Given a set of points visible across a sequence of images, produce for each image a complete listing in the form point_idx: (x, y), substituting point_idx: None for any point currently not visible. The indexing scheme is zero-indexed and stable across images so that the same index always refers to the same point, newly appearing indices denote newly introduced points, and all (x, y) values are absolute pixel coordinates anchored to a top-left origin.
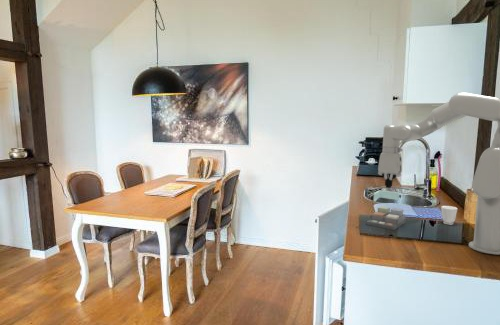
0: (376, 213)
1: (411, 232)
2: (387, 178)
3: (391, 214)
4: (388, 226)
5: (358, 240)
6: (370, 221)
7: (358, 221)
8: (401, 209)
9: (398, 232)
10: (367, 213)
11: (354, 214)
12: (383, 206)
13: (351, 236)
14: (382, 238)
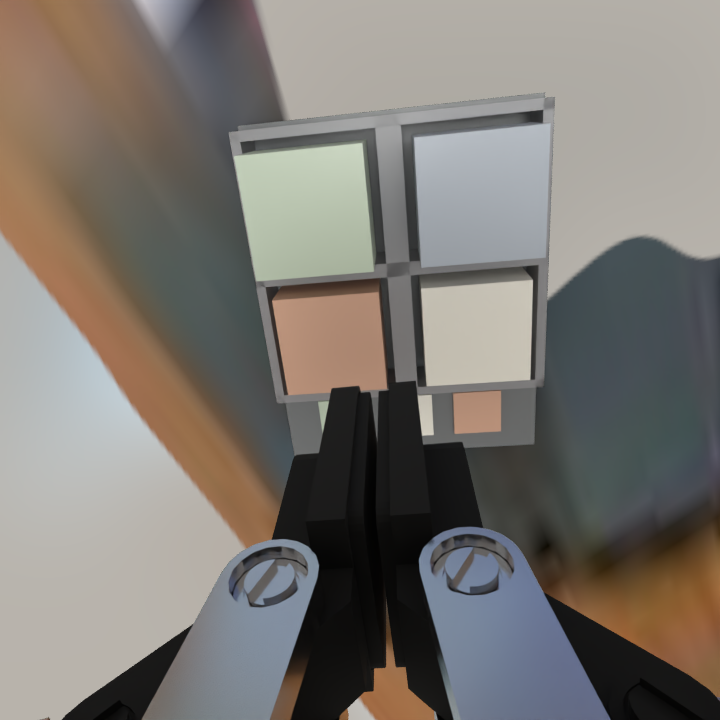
0: (310, 368)
1: (661, 395)
2: (348, 687)
3: (446, 294)
4: (483, 443)
5: (430, 717)
6: (316, 434)
7: (204, 408)
8: (529, 143)
9: (573, 461)
10: (58, 49)
11: (17, 215)
12: (271, 157)
13: (368, 692)
14: None
